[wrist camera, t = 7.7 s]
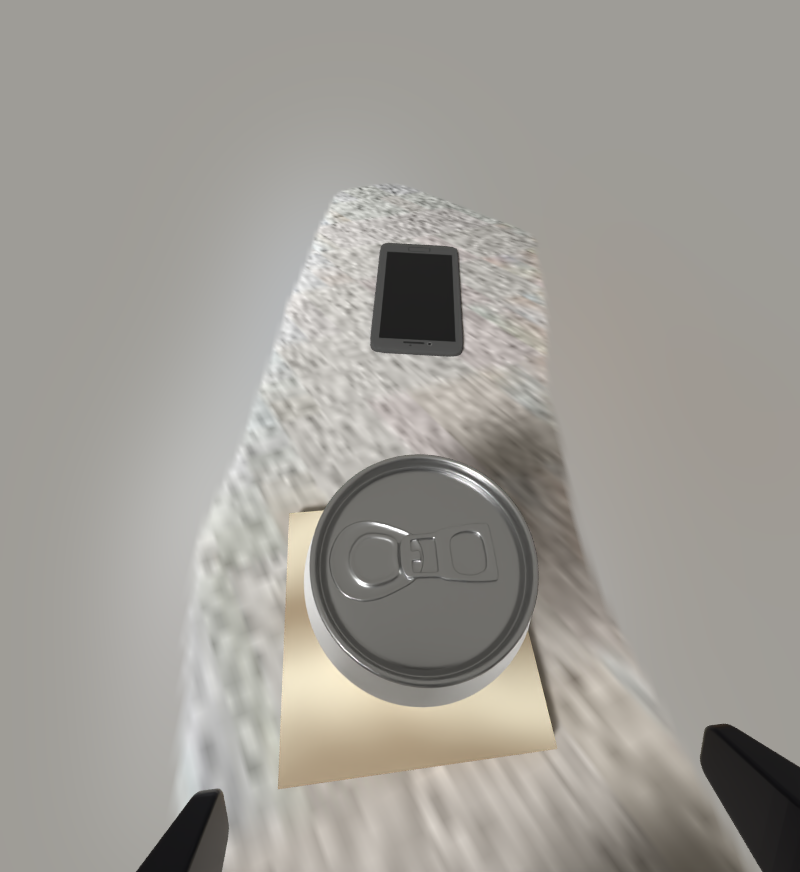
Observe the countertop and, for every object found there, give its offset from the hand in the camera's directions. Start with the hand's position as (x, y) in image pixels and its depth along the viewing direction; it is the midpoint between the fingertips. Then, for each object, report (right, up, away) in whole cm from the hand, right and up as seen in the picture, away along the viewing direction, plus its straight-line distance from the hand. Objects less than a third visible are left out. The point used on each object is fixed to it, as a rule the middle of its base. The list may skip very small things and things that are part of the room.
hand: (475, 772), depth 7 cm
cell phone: (0, +18, +28) cm, 33 cm away
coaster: (-1, -3, +14) cm, 14 cm away
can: (-1, -3, +13) cm, 13 cm away
